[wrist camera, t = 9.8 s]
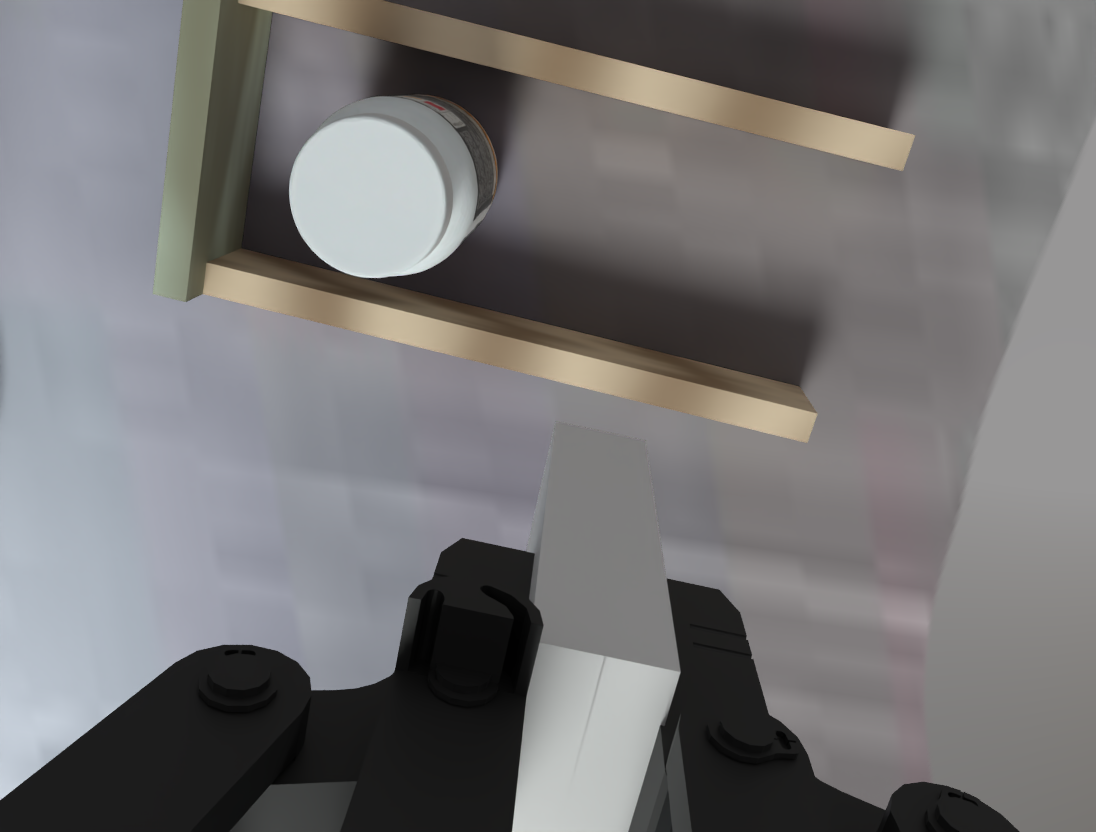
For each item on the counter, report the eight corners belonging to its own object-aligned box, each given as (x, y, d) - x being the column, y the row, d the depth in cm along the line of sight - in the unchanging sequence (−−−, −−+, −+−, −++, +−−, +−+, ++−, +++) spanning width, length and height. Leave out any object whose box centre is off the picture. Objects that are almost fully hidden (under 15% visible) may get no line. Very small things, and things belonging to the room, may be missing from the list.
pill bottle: (376, 72, 36) (295, 63, 26) (520, 125, 36) (490, 134, 27) (337, 217, 38) (247, 256, 28) (474, 266, 38) (431, 321, 29)
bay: (208, 270, 39) (152, 294, 34) (245, -31, 35) (188, -51, 30) (790, 413, 39) (815, 457, 34) (886, 131, 35) (929, 136, 31)
